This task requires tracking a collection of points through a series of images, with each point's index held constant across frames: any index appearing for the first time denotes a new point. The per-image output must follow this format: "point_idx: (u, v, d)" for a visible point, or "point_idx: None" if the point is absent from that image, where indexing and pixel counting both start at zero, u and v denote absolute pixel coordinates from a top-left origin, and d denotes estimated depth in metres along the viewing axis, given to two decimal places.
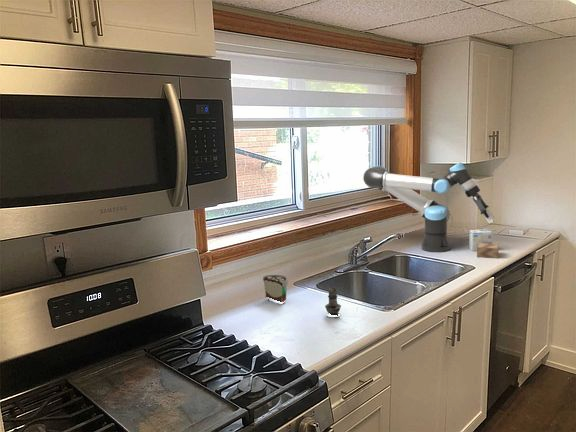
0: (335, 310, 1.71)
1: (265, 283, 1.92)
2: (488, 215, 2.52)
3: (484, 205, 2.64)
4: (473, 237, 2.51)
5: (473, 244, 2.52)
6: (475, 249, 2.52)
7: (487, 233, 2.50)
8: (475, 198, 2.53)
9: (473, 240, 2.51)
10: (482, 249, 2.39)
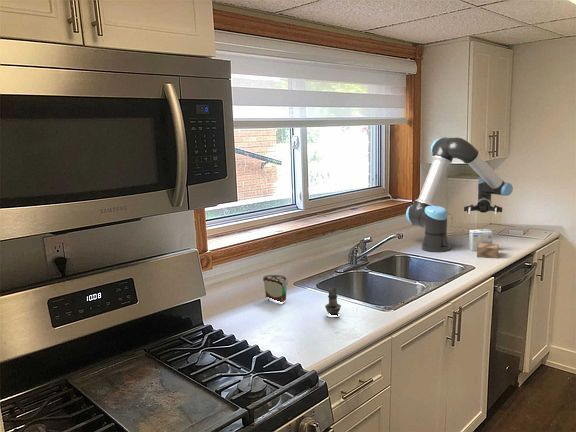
0: (335, 310, 1.71)
1: (265, 283, 1.92)
2: None
3: (472, 209, 2.70)
4: (473, 237, 2.51)
5: (473, 244, 2.52)
6: (475, 249, 2.52)
7: (487, 233, 2.50)
8: None
9: (473, 240, 2.51)
10: (482, 249, 2.39)
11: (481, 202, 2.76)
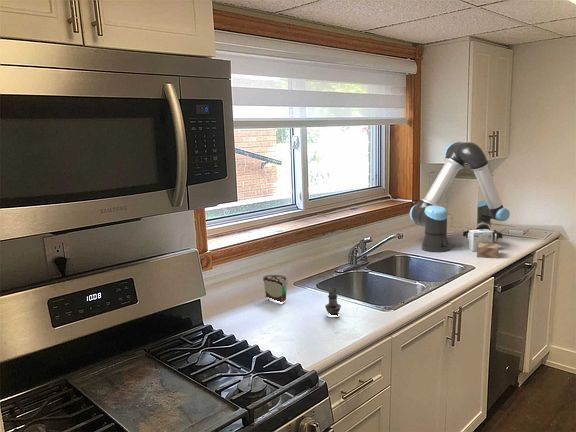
0: (335, 310, 1.71)
1: (265, 283, 1.92)
2: (496, 238, 2.55)
3: None
4: (473, 237, 2.50)
5: (474, 244, 2.51)
6: (476, 249, 2.51)
7: (487, 233, 2.49)
8: (495, 232, 2.65)
9: (474, 240, 2.50)
10: (482, 249, 2.39)
11: (480, 227, 2.70)
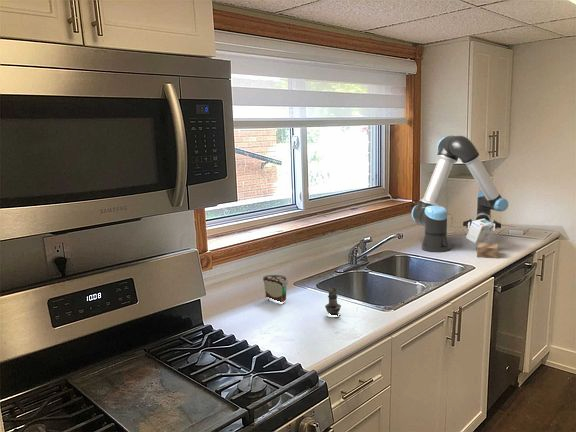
0: (335, 310, 1.71)
1: (265, 283, 1.92)
2: (494, 228, 2.50)
3: None
4: (480, 231, 2.46)
5: (478, 237, 2.48)
6: (477, 241, 2.50)
7: (490, 226, 2.49)
8: None
9: (479, 233, 2.47)
10: (482, 249, 2.39)
11: (480, 217, 2.65)
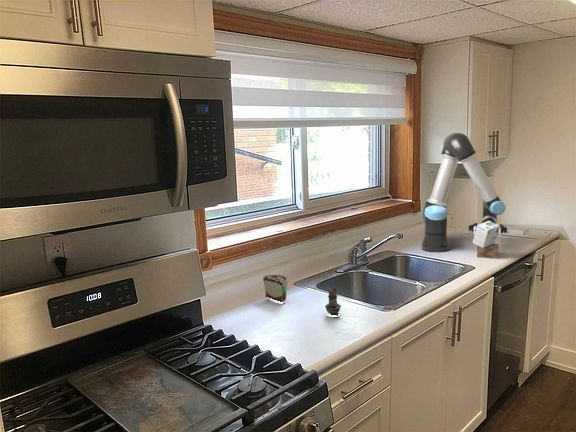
0: (335, 310, 1.71)
1: (265, 283, 1.92)
2: (500, 232, 2.39)
3: None
4: (487, 234, 2.35)
5: (485, 241, 2.37)
6: (485, 245, 2.38)
7: (496, 228, 2.38)
8: None
9: (486, 237, 2.35)
10: (482, 249, 2.39)
11: (486, 220, 2.54)
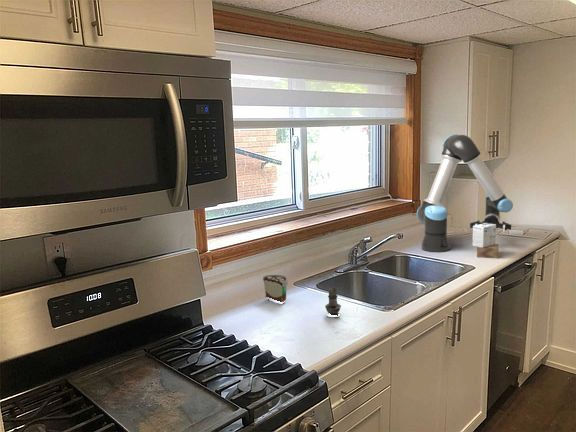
0: (335, 310, 1.71)
1: (265, 283, 1.92)
2: (504, 229, 2.44)
3: None
4: (483, 232, 2.37)
5: (484, 240, 2.38)
6: (485, 245, 2.39)
7: (493, 226, 2.40)
8: (504, 223, 2.54)
9: (484, 236, 2.38)
10: (482, 249, 2.39)
11: (488, 218, 2.59)
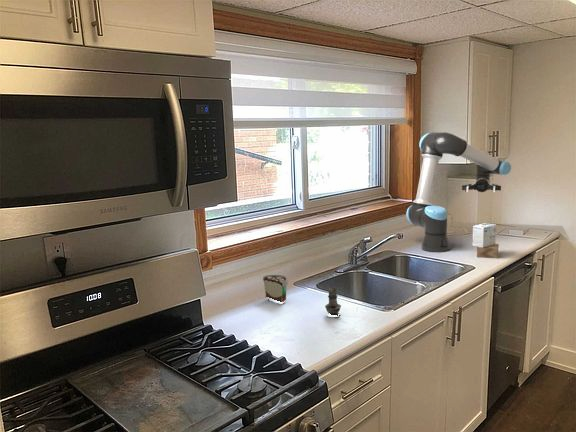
0: (335, 310, 1.71)
1: (265, 283, 1.92)
2: (494, 190, 2.56)
3: (470, 188, 2.66)
4: (483, 232, 2.37)
5: (484, 240, 2.38)
6: (485, 245, 2.39)
7: (493, 226, 2.40)
8: None
9: (484, 236, 2.38)
10: (482, 249, 2.39)
11: (479, 181, 2.71)
